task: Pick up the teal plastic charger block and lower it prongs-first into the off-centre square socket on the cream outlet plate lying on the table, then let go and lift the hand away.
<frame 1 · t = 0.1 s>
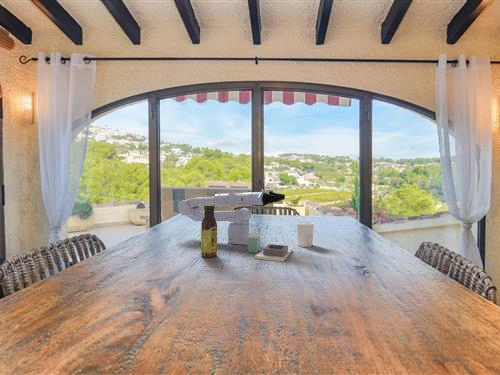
hand: (282, 197, 133), 22 cm above the table, tool horizontal, fingers open, 7 cm apart
white cup: (304, 245, 137), on the table
charger block: (253, 250, 127), on the table
sauce bottle: (209, 256, 119), on the table
outlet plate: (274, 254, 122), on the table
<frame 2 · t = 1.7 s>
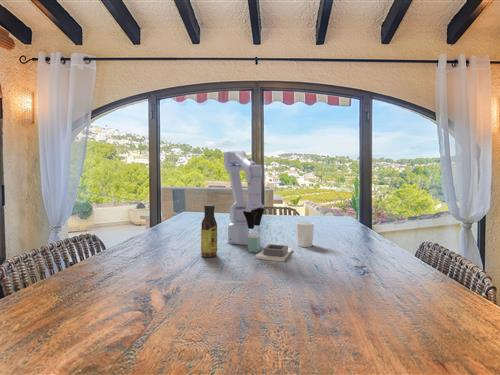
hand: (254, 227, 126), 10 cm above the table, tool pointing down, fingers open, 7 cm apart
nothing on the table moved.
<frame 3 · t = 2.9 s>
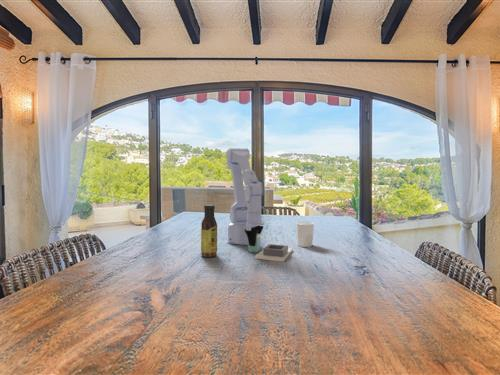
hand: (254, 244, 127), 3 cm above the table, tool pointing down, fingers closed on charger block, 4 cm apart
charger block: (253, 250, 127), on the table, touching gripper
everything else where it was.
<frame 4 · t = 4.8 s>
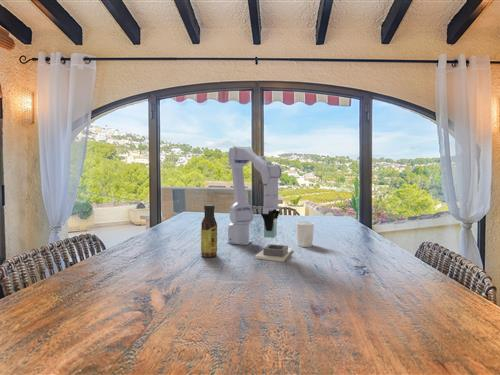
hand: (270, 229, 121), 10 cm above the table, tool pointing down, fingers closed on charger block, 4 cm apart
charger block: (270, 236, 121), point 7 cm above the table, touching gripper
everything else where it was.
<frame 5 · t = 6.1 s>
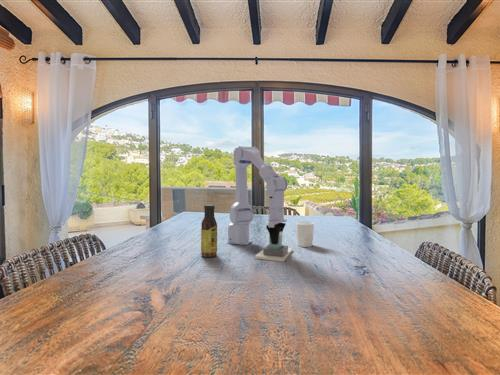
hand: (276, 242, 119), 5 cm above the table, tool pointing down, fingers closed on charger block, 4 cm apart
charger block: (275, 249, 119), point 3 cm above the table, touching gripper
everything else where it was.
when the fingers open (5 cm above the table, at t = 7.0 s): charger block drops 1 cm, resting on outlet plate.
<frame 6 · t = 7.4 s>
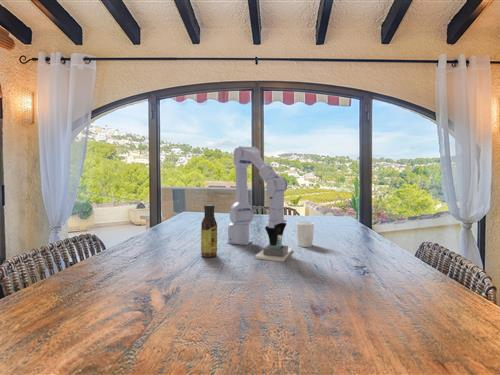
hand: (276, 243, 119), 5 cm above the table, tool pointing down, fingers open, 7 cm apart
charger block: (275, 253, 119), point 1 cm above the table, touching outlet plate
everything else where it was.
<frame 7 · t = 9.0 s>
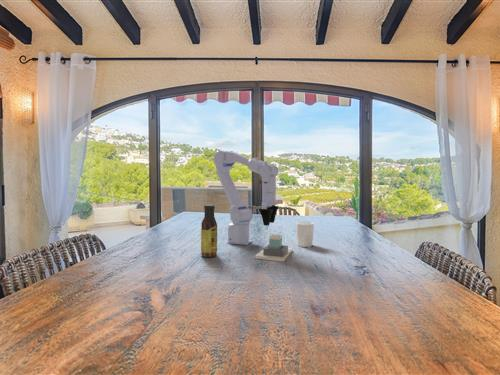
hand: (269, 223, 131), 10 cm above the table, tool pointing down, fingers open, 7 cm apart
nothing on the table moved.
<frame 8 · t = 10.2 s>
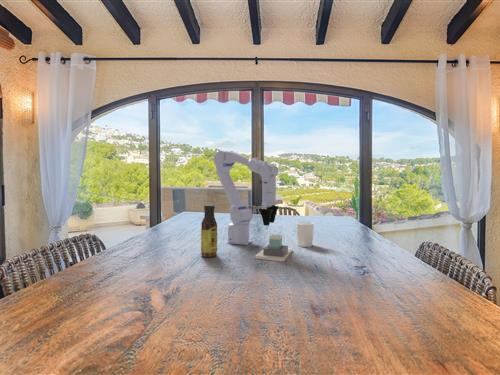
hand: (269, 223, 131), 10 cm above the table, tool pointing down, fingers open, 7 cm apart
nothing on the table moved.
at the end: charger block 0.1 cm from the target spot on the outlet plate, point 1.0 cm above the outlet plate's base; charger block tilted 0°; the gripper is holding nothing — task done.
